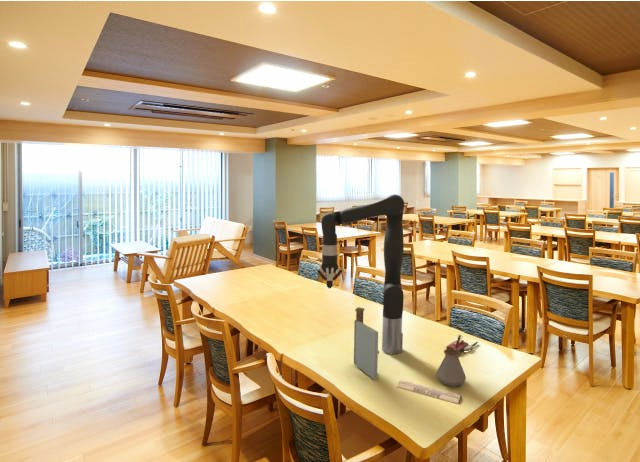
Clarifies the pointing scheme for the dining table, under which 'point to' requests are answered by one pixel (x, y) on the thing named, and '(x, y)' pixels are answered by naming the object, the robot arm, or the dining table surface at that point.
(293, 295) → the dining table surface
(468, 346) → the dried flower sprig
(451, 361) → the coffee pot
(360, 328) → the door
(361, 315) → the hinge post
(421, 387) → the tan flat bar
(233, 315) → the dining table surface
